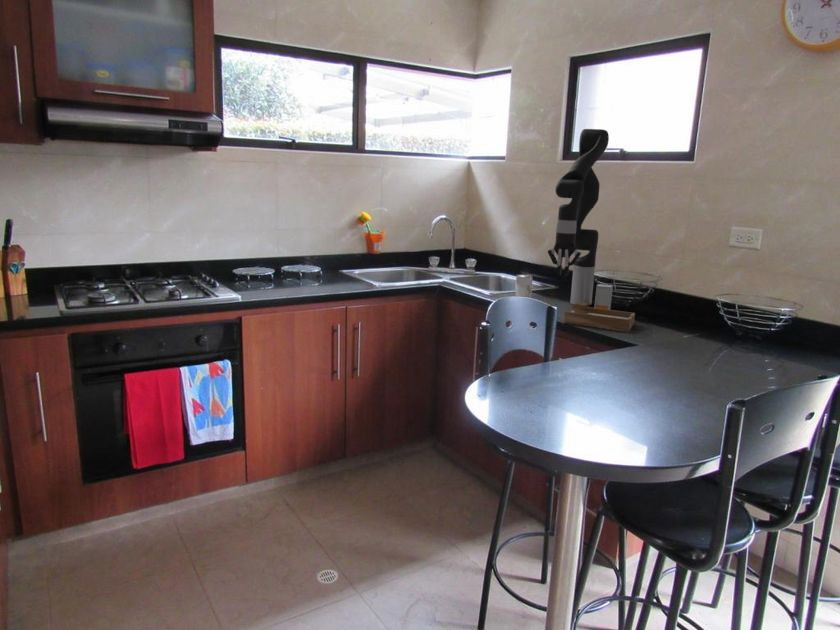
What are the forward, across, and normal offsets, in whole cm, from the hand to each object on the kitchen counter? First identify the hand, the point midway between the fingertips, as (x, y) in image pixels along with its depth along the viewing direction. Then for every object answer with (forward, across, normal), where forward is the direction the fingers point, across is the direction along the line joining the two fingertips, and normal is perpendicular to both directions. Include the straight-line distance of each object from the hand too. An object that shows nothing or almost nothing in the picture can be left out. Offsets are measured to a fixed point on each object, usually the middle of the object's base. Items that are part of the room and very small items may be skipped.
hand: (562, 275), depth 245 cm
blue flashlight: (+17, +16, -2) cm, 24 cm away
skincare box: (+17, -14, -17) cm, 28 cm away
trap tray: (+17, -16, +3) cm, 24 cm away
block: (+15, -8, 0) cm, 17 cm away
